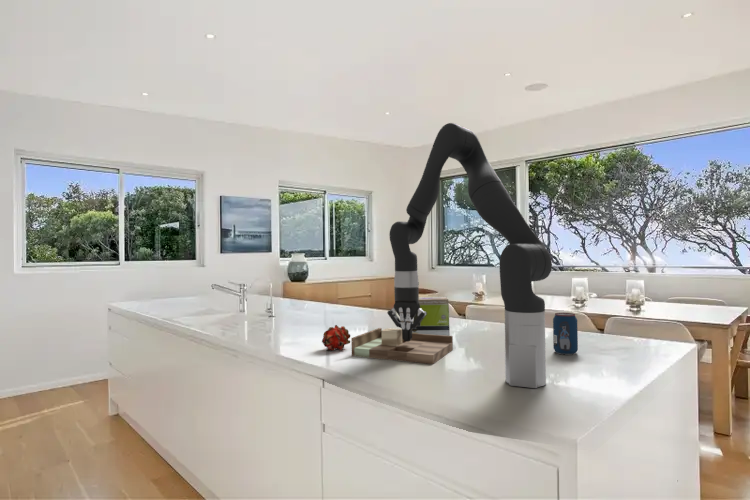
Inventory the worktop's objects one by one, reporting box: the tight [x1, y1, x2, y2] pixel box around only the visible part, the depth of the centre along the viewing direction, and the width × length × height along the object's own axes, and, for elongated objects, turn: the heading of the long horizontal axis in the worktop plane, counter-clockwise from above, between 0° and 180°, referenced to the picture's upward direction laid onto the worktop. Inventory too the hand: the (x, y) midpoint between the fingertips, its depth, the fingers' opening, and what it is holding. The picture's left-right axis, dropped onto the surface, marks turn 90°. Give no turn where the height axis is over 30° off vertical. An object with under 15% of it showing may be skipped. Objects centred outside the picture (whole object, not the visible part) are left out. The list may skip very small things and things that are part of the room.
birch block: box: [382, 327, 402, 346], centre depth 146 cm, size 5×5×4 cm
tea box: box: [412, 296, 451, 336], centre depth 169 cm, size 15×10×15 cm, turn 84°
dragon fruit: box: [321, 324, 351, 352], centre depth 151 cm, size 8×8×12 cm
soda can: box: [552, 312, 579, 356], centre depth 142 cm, size 7×7×12 cm
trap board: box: [350, 327, 454, 365], centre depth 145 cm, size 20×26×6 cm
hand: (407, 341), depth 144 cm, fingers closed
